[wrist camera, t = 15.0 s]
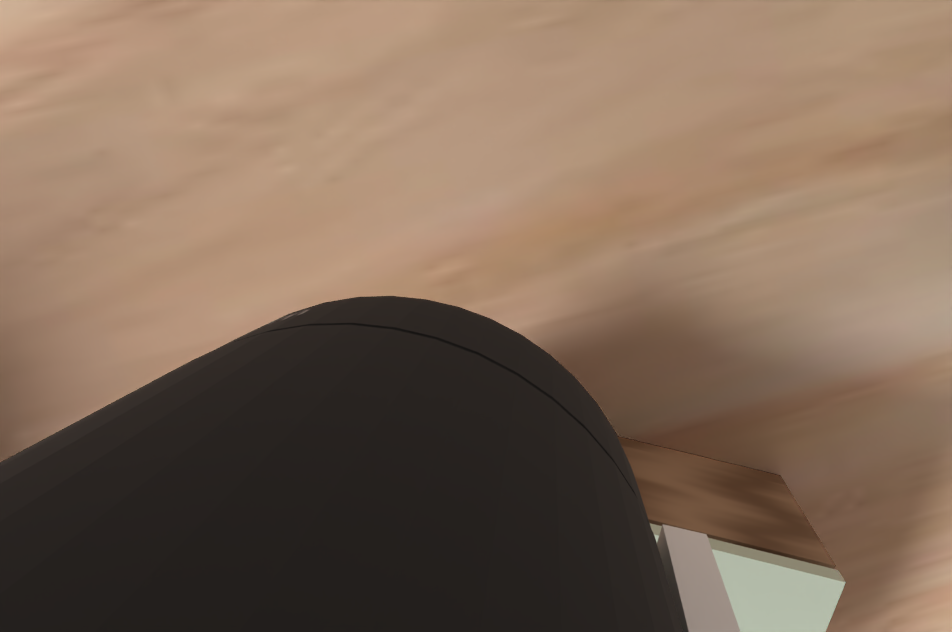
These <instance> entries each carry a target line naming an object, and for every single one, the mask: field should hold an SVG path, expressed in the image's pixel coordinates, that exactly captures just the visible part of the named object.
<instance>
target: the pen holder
mask: <svg viewBox="0 0 952 632" xmlns="http://www.w3.org/2000/svg"><path fill="white" fill-rule="evenodd" d="M0 632H683V629H682V626H681V623H680V619H679V616H678V613H677V609H676V606H675V603H674V599H673V596H672V593H671V589H670V586H669V583H668V579H667V576H666V573H665V569H664V566H663V563H662V559H661V556H660V553H659V549H658V546H657V543H656V539H655V536H654V533H653V531H652V529H651V526H650V523H649V520H648V517H647V513H646V510H645V507H644V504H643V501H642V498H641V494H640V491H639V488H638V485H637V482H636V479H635V476H634V473H633V470H632V468H631V465H630V463H629V461H628V458H627V456H626V454H625V452H624V450H623V448H622V446H621V443H620V441H619V439H618V437H617V435H616V433H615V431H614V429H613V428H612V426H611V425H610V423H609V421H608V420H607V418H606V417H605V415H604V414H603V412H602V410H601V409H600V407H599V406H598V404H597V403H596V402H595V400H594V399H593V398H592V397H591V396H590V395H589V393H588V392H587V391H586V390H585V389H584V388H583V386H582V385H581V384H580V383H579V382H578V381H577V379H576V378H575V377H574V376H573V375H572V374H571V373H570V372H568V371H567V370H566V369H565V368H564V367H563V366H562V365H561V364H560V363H558V362H557V361H556V360H555V359H554V358H553V357H552V356H551V355H550V354H548V353H547V352H545V351H544V350H542V349H541V348H540V347H538V346H537V345H535V344H534V343H532V342H531V341H529V340H528V339H527V338H525V337H524V336H522V335H521V334H519V333H517V332H515V331H513V330H511V329H509V328H507V327H505V326H503V325H501V324H500V323H498V322H496V321H494V320H492V319H490V318H487V317H484V316H481V315H479V314H476V313H473V312H471V311H468V310H465V309H462V308H460V307H456V306H452V305H447V304H443V303H439V302H434V301H430V300H426V299H416V298H406V297H396V296H377V297H356V298H350V299H344V300H338V301H332V302H326V303H322V304H319V305H316V306H312V307H309V308H306V309H303V310H299V311H296V312H293V313H290V314H288V315H286V316H284V317H282V318H279V319H277V320H275V321H273V322H271V323H269V324H267V325H264V326H262V327H260V328H258V329H256V330H254V331H252V332H250V333H248V334H246V335H243V336H241V337H239V338H237V339H235V340H233V341H231V342H229V343H227V344H225V345H224V346H222V347H220V348H218V349H216V350H214V351H212V352H209V353H207V354H205V355H203V356H201V357H199V358H197V359H195V360H192V361H191V362H189V363H187V364H185V365H183V366H181V367H179V368H177V369H175V370H173V371H171V372H169V373H168V374H166V375H164V376H162V377H160V378H158V379H156V380H154V381H152V382H151V383H149V384H147V385H145V386H143V387H141V388H139V389H137V390H136V391H134V392H132V393H130V394H128V395H126V396H124V397H122V398H121V399H119V400H117V401H115V402H113V403H111V404H109V405H107V406H106V407H104V408H102V409H100V410H98V411H96V412H94V413H92V414H91V415H89V416H87V417H85V418H83V419H81V420H79V421H77V422H76V423H74V424H72V425H70V426H68V427H66V428H64V429H62V430H61V431H59V432H57V433H55V434H53V435H51V436H49V437H47V438H46V439H44V440H42V441H40V442H38V443H36V444H34V445H32V446H31V447H29V448H27V449H25V450H23V451H21V452H19V453H17V454H16V455H14V456H12V457H10V458H8V459H6V460H4V461H2V462H1V463H0Z"/></svg>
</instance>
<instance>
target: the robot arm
mask: <svg viewBox="0 0 952 632" xmlns="http://www.w3.org/2000/svg"><path fill="white" fill-rule="evenodd" d="M657 546H658V549H659V553H660V556H661V559H662V563H663V566H664V569H665V573H666V576H667V579H668V583H669V586H670V589H671V593H672V596H673V599H674V603H675V606H676V609H677V613H678V616H679V619H680V623H681V626H682V629H683V632H740V629H739V626H738V623H737V620H736V617H735V614H734V612H733V609H732V606H731V603H730V600H729V597H728V594H727V591H726V589H725V586H724V583H723V580H722V577H721V574H720V571H719V568H718V566H717V563H716V560H715V557H714V554H713V551H712V548H711V546H710V543H709V540H708V537H707V534H703V533H699V532H694V531H690V530H686V529H681V528H677V527H673V526H668V525H664V524H662V528H661V531H660V534H659V538H658V541H657Z"/></svg>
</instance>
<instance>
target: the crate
mask: <svg viewBox="0 0 952 632" xmlns="http://www.w3.org/2000/svg"><path fill="white" fill-rule="evenodd" d="M617 437H618V436H617ZM618 439H619V441H620V443H621V446H622V448H623V450H624V452H625V454H626V456H627V458H628V461H629V463H630V465H631V468H632V470H633V473H634V476H635V479H636V482H637V485H638V488H639V491H640V494H641V498H642V501H643V504H644V507H645V510H646V513H647V517H648V520H649V523H651V524H655V525H659V526H662V524H664V525H668V526H673V527H677V528H681V529H686V530H690V531H694V532H699V533H703V534H707V537H708V538H711V539H715V540H719V541H723V542H727V543H731V544H735V545H739V546H743V547H747V548H751V549H755V550H759V551H763V552H767V553H772V554H776V555H780V556H784V557H788V558H792V559H796V560H800V561H804V562H808V563H812V564H816V565H820V566H824V567H828V568H832V569H834V568H835V564H834V562H833V561H832V559H831V558H830V556H829V554H828V553H827V551H826V549H825V548H824V546H823V544H822V543H821V541H820V540H819V538H818V536H817V535H816V533H815V531H814V530H813V528H812V526H811V525H810V523H809V522H808V520H807V518H806V517H805V515H804V513H803V512H802V510H801V508H800V507H799V505H798V504H797V502H796V500H795V499H794V497H793V495H792V494H791V492H790V490H789V489H788V487H787V486H786V484H785V482H784V481H783V479H782V477H781V476H780V475H776V474H772V473H767V472H763V471H759V470H755V469H751V468H747V467H743V466H738V465H734V464H730V463H726V462H722V461H718V460H714V459H709V458H705V457H701V456H697V455H693V454H689V453H685V452H680V451H676V450H672V449H668V448H664V447H660V446H655V445H651V444H647V443H643V442H639V441H635V440H631V439H626V438H622V437H618Z"/></svg>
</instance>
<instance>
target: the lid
mask: <svg viewBox="0 0 952 632" xmlns="http://www.w3.org/2000/svg"><path fill="white" fill-rule="evenodd" d="M650 526H651V529H652V531H653V533H654V536H655V539H656V543H657V541H658V538H659V534H660V531H661V528H662V526H659V525H655V524H651V523H650ZM708 540H709V543H710V546H711V548H712V551H713V554H714V557H715V560H716V563H717V566H718V568H719V571H720V574H721V577H722V580H723V583H724V586H725V589H726V591H727V594H728V597H729V600H730V603H731V606H732V609H733V612H734V614H735V617H736V620H737V623H738V626H739V629H740V632H826V630H827V627H828V625H829V622H830V620H831V617H832V615H833V613H834V610H835V608H836V605H837V603H838V600H839V598H840V595H841V593H842V591H843V588H844V586H845V583H846V582H845V580H844V579H843V577H842V575H841V574H840V572H839V571H838V570H836V569H832V568H828V567H824V566H820V565H816V564H812V563H808V562H804V561H800V560H796V559H792V558H788V557H784V556H780V555H776V554H772V553H767V552H763V551H759V550H755V549H751V548H747V547H743V546H739V545H735V544H731V543H727V542H723V541H719V540H715V539H711V538H708Z"/></svg>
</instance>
